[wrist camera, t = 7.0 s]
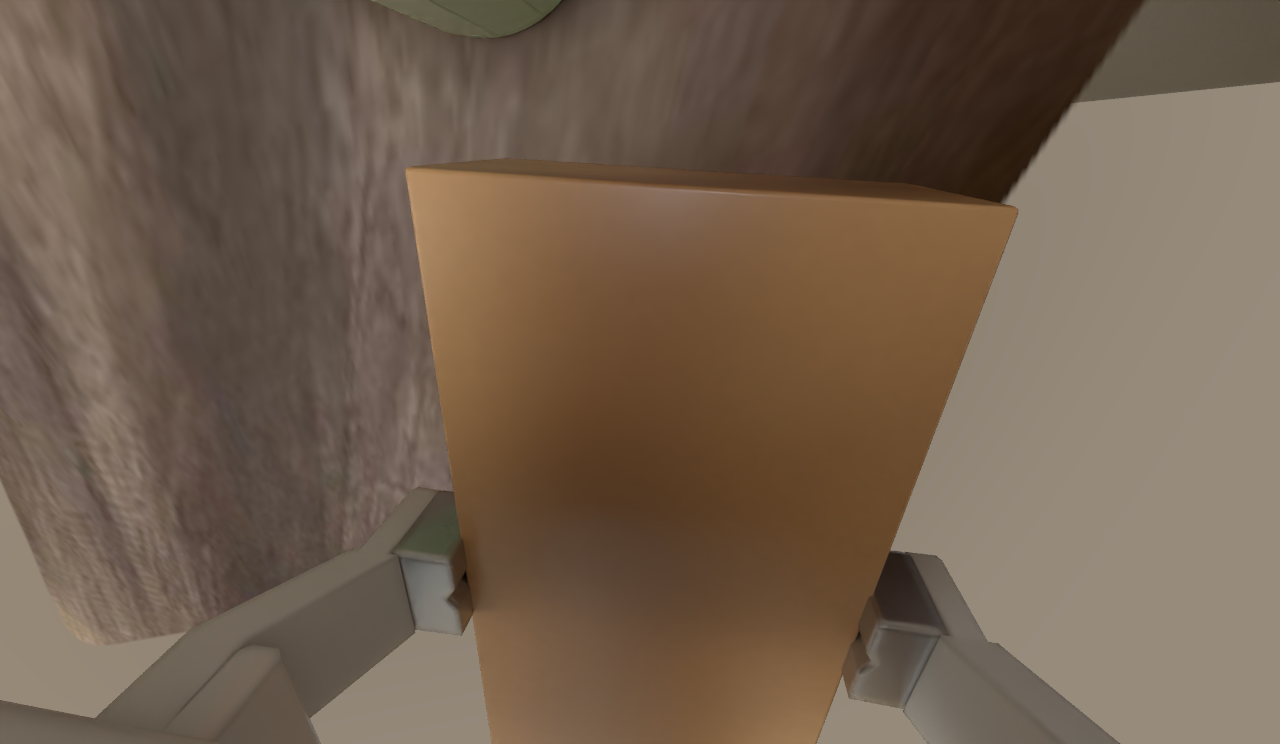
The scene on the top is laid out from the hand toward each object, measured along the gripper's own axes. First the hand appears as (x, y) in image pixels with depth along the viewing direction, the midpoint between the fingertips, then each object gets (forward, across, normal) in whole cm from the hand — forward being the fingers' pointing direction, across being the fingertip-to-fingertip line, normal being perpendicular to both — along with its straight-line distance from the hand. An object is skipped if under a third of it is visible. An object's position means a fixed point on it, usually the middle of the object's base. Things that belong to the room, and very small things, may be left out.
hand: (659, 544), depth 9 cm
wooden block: (+2, 0, 0) cm, 2 cm away
